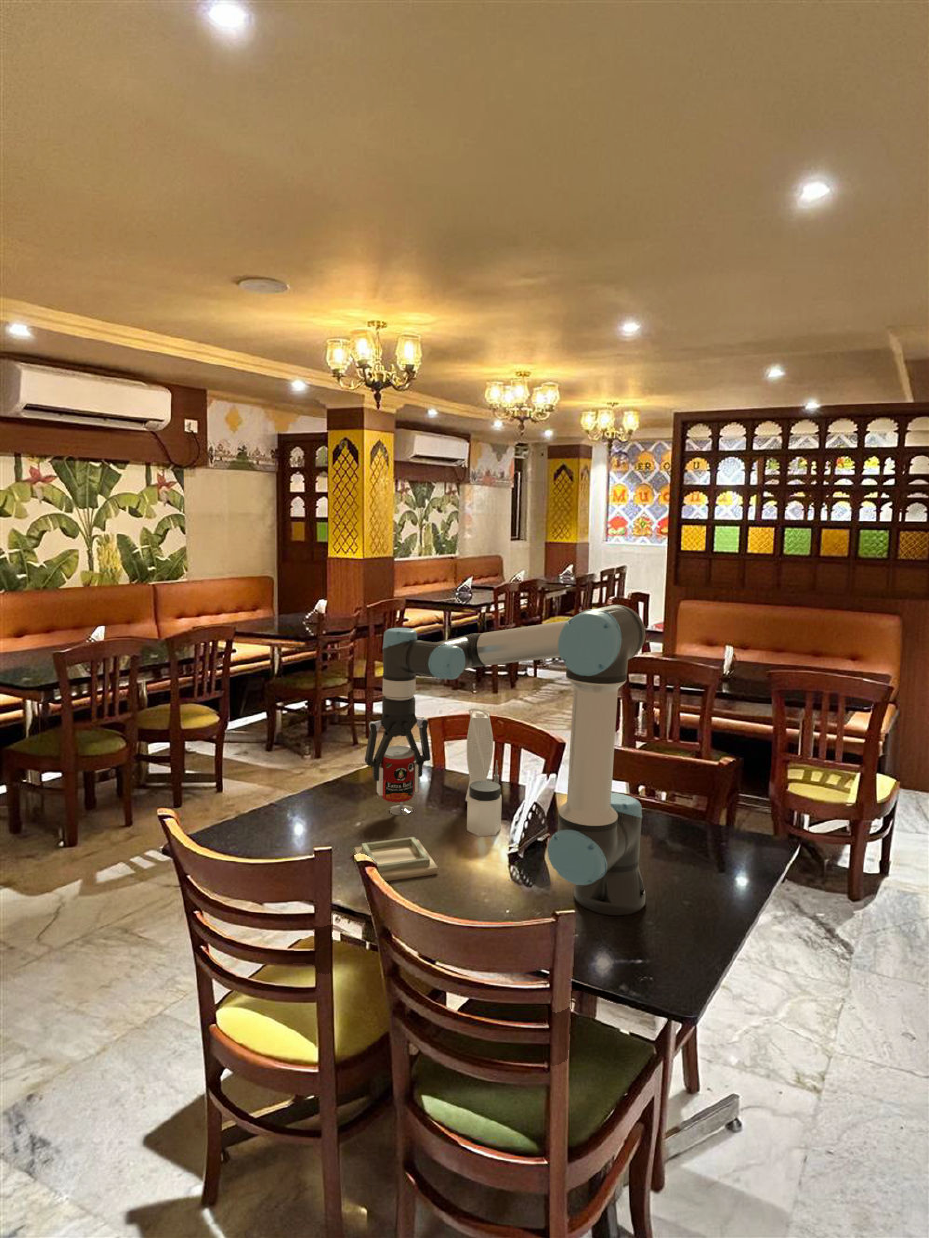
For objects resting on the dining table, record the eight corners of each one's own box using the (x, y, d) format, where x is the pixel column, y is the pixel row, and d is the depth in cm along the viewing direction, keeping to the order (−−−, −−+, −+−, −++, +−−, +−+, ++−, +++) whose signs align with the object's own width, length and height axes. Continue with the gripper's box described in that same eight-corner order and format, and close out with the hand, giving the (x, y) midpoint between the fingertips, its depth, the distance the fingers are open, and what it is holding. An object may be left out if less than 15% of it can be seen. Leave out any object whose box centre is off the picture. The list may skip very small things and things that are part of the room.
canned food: (383, 804, 182) (384, 757, 181) (378, 791, 190) (378, 746, 188) (416, 801, 184) (417, 755, 182) (410, 789, 192) (410, 744, 190)
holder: (437, 873, 184) (438, 861, 184) (369, 883, 179) (369, 870, 179) (418, 845, 199) (418, 833, 199) (354, 853, 194) (354, 841, 193)
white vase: (478, 810, 223) (480, 712, 219) (458, 801, 229) (461, 706, 225) (500, 803, 229) (502, 707, 225) (480, 795, 235) (483, 701, 231)
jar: (507, 831, 209) (508, 787, 207) (483, 839, 203) (484, 794, 202) (484, 820, 215) (485, 777, 214) (460, 828, 210) (461, 784, 209)
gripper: (437, 689, 190) (434, 782, 194) (350, 694, 183) (350, 790, 187) (446, 697, 183) (444, 793, 187) (357, 702, 176) (356, 802, 180)
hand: (397, 791), depth 187 cm, fingers closed on canned food, 8 cm apart
